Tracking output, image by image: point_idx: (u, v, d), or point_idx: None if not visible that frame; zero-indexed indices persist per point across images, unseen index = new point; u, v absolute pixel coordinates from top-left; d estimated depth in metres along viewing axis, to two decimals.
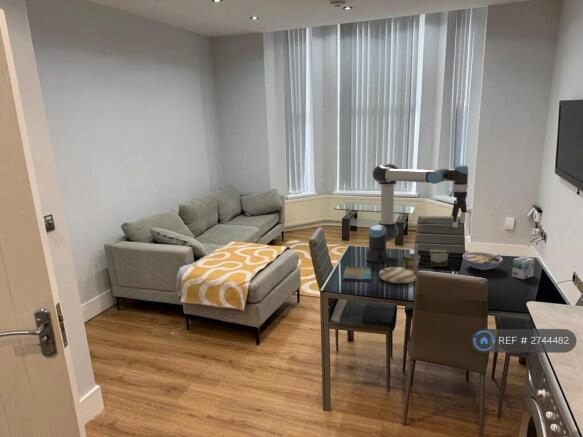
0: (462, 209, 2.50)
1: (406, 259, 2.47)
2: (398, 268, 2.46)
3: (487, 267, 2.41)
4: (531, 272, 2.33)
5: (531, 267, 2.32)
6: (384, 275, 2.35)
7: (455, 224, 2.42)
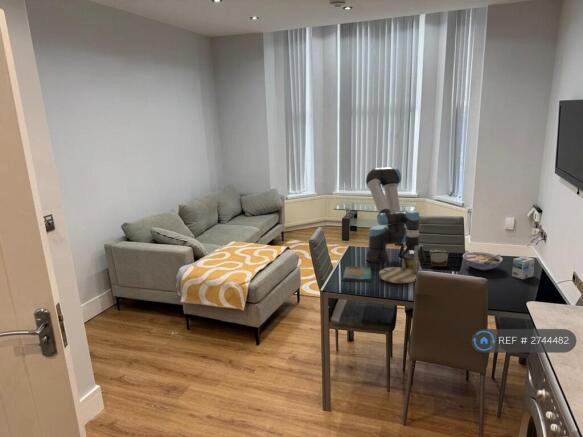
0: None
1: (406, 259, 2.47)
2: (398, 268, 2.46)
3: (487, 267, 2.41)
4: (531, 272, 2.33)
5: (531, 267, 2.32)
6: (384, 275, 2.35)
7: None
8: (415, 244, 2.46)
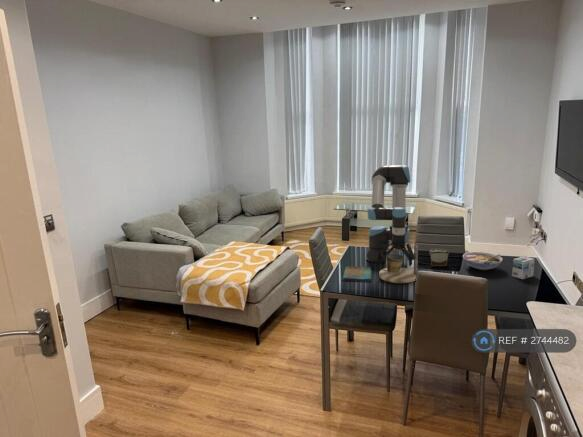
0: None
1: (389, 260, 2.33)
2: None
3: (487, 267, 2.41)
4: (531, 272, 2.33)
5: (531, 267, 2.32)
6: (384, 275, 2.35)
7: None
8: (401, 243, 2.31)
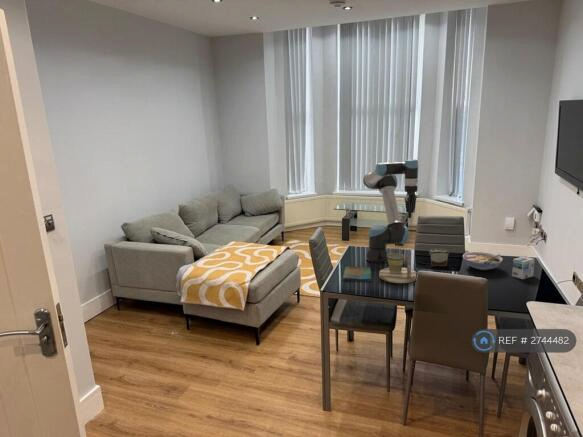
0: None
1: None
2: (410, 271, 2.40)
3: (487, 267, 2.41)
4: (531, 272, 2.33)
5: (531, 267, 2.32)
6: (383, 270, 2.43)
7: (410, 220, 2.47)
8: (414, 192, 2.46)
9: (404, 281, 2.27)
